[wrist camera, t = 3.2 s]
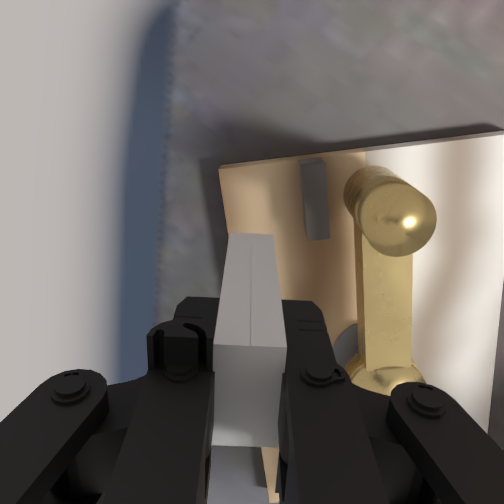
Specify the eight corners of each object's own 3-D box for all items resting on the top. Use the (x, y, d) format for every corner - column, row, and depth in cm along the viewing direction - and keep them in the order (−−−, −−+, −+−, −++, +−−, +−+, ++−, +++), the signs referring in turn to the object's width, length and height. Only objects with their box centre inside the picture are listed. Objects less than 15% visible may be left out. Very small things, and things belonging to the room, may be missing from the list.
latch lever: (411, 390, 28) (441, 454, 23) (341, 396, 28) (357, 460, 23) (414, 160, 22) (455, 182, 18) (328, 170, 22) (346, 195, 18)
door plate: (506, 130, 24) (584, 147, 18) (474, 473, 34) (518, 555, 28) (219, 165, 25) (208, 192, 19) (269, 489, 35) (271, 571, 29)
